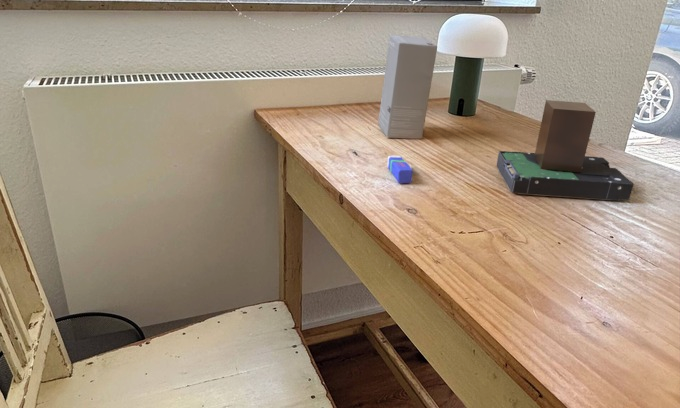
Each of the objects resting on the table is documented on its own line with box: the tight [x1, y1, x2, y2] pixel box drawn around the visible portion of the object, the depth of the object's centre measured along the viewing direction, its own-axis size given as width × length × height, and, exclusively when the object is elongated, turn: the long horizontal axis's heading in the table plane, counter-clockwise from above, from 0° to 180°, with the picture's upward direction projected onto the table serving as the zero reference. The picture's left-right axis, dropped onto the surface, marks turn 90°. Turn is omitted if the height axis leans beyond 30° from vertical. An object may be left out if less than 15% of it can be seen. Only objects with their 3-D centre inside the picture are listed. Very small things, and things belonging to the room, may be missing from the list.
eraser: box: [386, 155, 414, 184], centre depth 69 cm, size 2×6×2 cm, turn 9°
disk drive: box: [496, 150, 635, 201], centre depth 69 cm, size 10×3×15 cm
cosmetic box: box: [377, 34, 438, 140], centre depth 86 cm, size 8×7×16 cm
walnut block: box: [534, 99, 597, 172], centre depth 67 cm, size 5×5×8 cm
